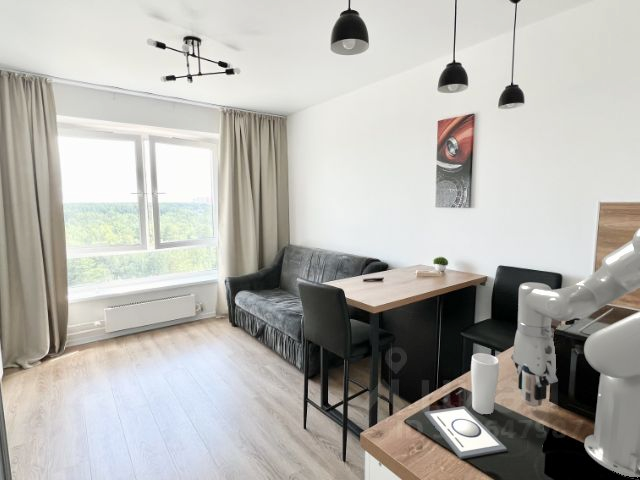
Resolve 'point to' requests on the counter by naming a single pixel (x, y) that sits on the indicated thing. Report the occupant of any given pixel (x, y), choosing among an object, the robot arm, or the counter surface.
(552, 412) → the counter surface
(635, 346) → the robot arm
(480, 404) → the drinking glass
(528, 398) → the beer can
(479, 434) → the tablet
